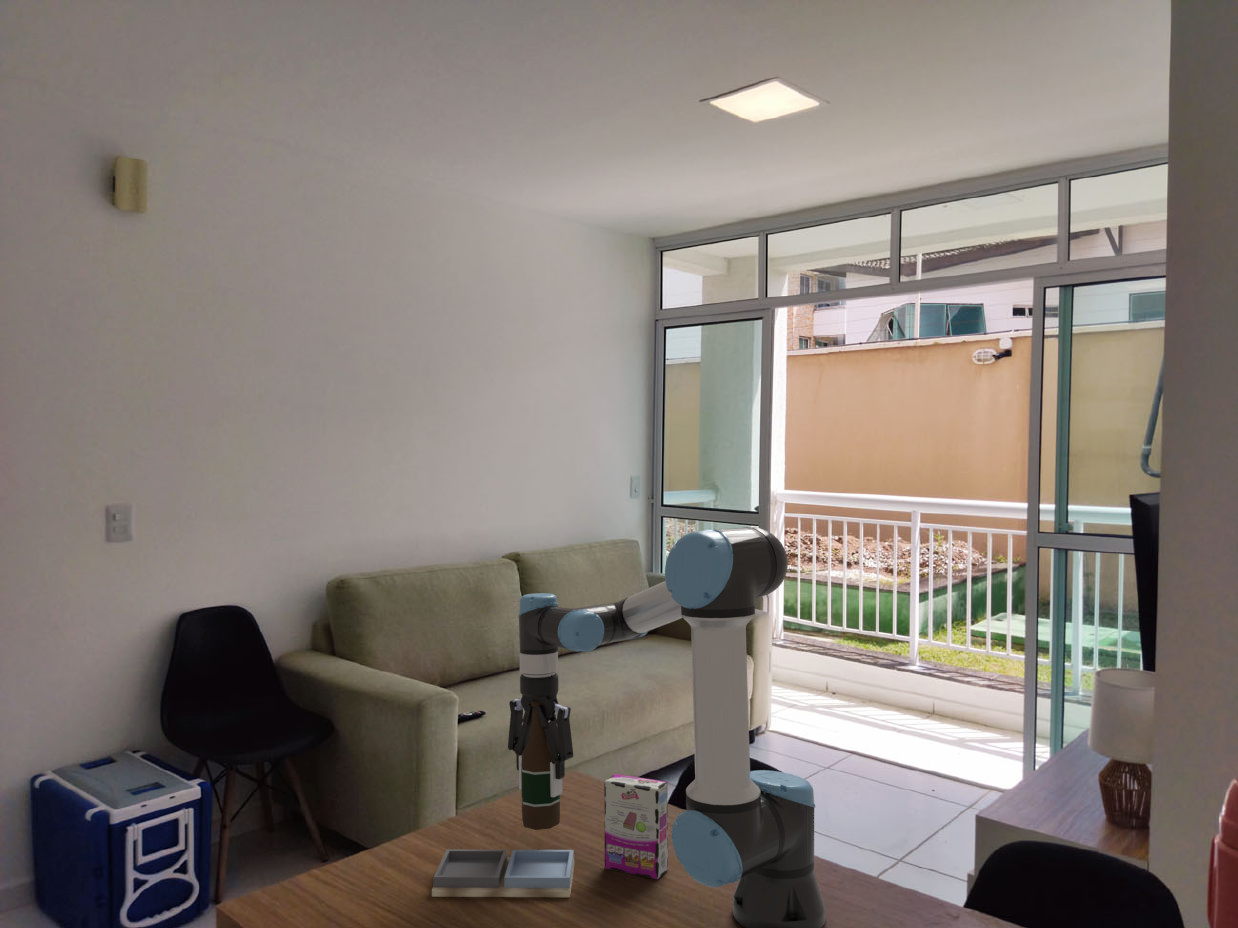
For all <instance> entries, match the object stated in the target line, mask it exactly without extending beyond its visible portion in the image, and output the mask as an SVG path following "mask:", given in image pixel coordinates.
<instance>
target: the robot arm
mask: <svg viewBox="0 0 1238 928" xmlns="http://www.w3.org/2000/svg"><path fill="white" fill-rule="evenodd" d="M669 550H670V551H669V552H668V555H667V558H666V561H665V565H664V581H662V582H659V583H657V584H655V585H652V586H651V587H648V588H645V589H644V590H642V591H639V592H637V593H634V594H632V595H630V596H628V597H625V598H624V599H621V600H619V601H616V602H615V601H614V602H611V603H605V604H598V605H590V606H583V607H582V606H581V607H573V608H570V607H561V606H559V603H558V597H557V595H555V594H553V593H550V592H549V593H548V592H547V593H544V592H543V593H540V592H539V593H537V592H536V593H527V594H524V595H522V596H521V597H520V599H519V606H518V607H519V609H518V611H519V612H518V628H519V629H518V632H519V633H518V634H519V636H518V637H519V673H521V674H520V676H519V693H520V694H521V698H520V697H519V698H516V699H513V700H509V703H508V705H509V709H510V719H509V728H508V729H509V731H508V740H507V741H508V742H507V749H508V750H509V751H513V752H514V754H515V756H516V759H515V760H516V770H517V771H518V789H519V790H520V791H521V760H522V754H523V751H524V748H525V746H526V745H527V743H528V742H529V739H530V733H531V719H532V707H531V701H532V700H536V701H539V702H540V703H541V704H540V705H539V706H537V707H536V712H537V715H538V716H539V719H540V722H541V726H542V728H544V730H545V733H546V736H547V740H548V743H549V747H550V750H551V753H552V757H553V760H554V761H551V762H550V789H551V797H556V796H558V795H560V796H561V795H563V778H565V775H566V773H565V769H566V768H565V766H566V765H565V762H566V761H568V760H570V759H573V758H574V750H573V749H574V748H573V740H572V731H571V722H570V721H571V720H570V718H571V717H570V716H571V707H570V706H569V705H567V706H563V705H561V704H559V701H558V698H557V697H558V696H557V695H558V693H559V675H558V673H557V672H558V671H559V649H565V650H568V651H573V652H577V653H578V652H583V653H587V652H592V651H594V650H595V649H596V648H597V647H598V646H600V645H605V644H608V643H609V644H610V643H614V642H615V643H616V642H623V641H633V640H636V639H638V638H642V637H644V636H646V635H647V634H648V633H649V632H650V631H652V630H654V629H657V628H660V627H662V626H665V625H667V624H671V623H673V622H675V621H679V620H680V619H682V618H683V619H684V621H686V622H687V623H688V625H689V626H690V629H691V630H690V632H691V633H690V636H691V637H690V638H691V667H692V668H691V669H692V670H691V671H692V673H691V674H692V675H691V676H692V703H693V704H692V705H693V706H692V708H693V742H694V746H693V747H694V775H695V777H694V779H693V781H692V782H690V784H688V786H687V787H686V788H685V798H686V799H685V800H686V802H685V804H686V807H685V808H686V810H684V811H682V812H680V814H679V815H678V816H677V818H676V819H674V820H673V824H672V827H671V841H672V846H673V850H674V854H675V855H676V857H677V860H678V861H679V863H680V865H682V867H683V868H684V870H685V872H686V873H687V874H688V875H689V876H690V877H691V878H692V879H693V880H694V881H695V882H696V883H699V884H700V885H703V887H707V888H719V887H723V886H725V885H728V884H735V883H736V887H735V890H734V893H733V895H732V916H733V917H734V919H735V920H736V921H737V923H738V924H739V925H740V926H742V927H743V928H823V926H824V925H825V923H826V905H825V901H824V898H823V895H822V892H821V889H820V886H819V882H818V880H817V875H816V873H815V808H816V804H815V797H814V796H815V795H814V794H815V793H814V789H813V785H812V784H811V783H810V782H809V781H808V780H806V779H805V778H803V777H800V776H799V775H795V774H792V773H787V772H782V771H777V770H776V771H775V770H766V769H765V770H764V769H762V770H761V769H760V770H751V759H750V758H751V757H750V755H751V754H750V729H749V726H750V725H749V723H750V721H749V719H750V718H749V691H748V690H749V689H748V687H749V685H748V661H747V659H748V658H747V654H748V653H747V630H746V629H747V625H748V624H749V623H750V621H752V620H753V618H754V617H755V616H756V599H757V598H761V597H765V596H767V595H770V594H772V593H773V592H775V591H776V590H777V589H779V588H780V587H781V585H783V584H782V583H783V582H784V580H785V578H786V576H787V572H788V565H789V561H788V555H787V551H786V549H785V548H784V546H783V543H782V542H781V541H780V540H779V538H778V537H777V536H775V535H774V534H773V533H771V532H770V531H768V530H766V529H763V528H759V527H756V526H750V527H749V526H747V527H745V526H744V527H732V528H714V529H713V528H708V529H702V530H698V531H693V532H689V533H686V534H685V535H682V536H681V537H680V538H679V539H677V541H676V543H675V544H674V545H673V546H671V549H669ZM547 721H548V722H547Z"/></svg>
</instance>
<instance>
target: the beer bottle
mask: <svg viewBox="0 0 1238 928" xmlns="http://www.w3.org/2000/svg"><path fill="white" fill-rule="evenodd" d="M540 704H541V703H540V702H539V701H536V700H532V701H531V707H532V719H531V733H530V739H529V742H528V743H527V745H526V746H525V748H524V751H523V754H522V760H521V790H520V791H521V792H520V793H521V820H522V824H523V827H524V828H527V829H530V830H535V831H539V830H542V831H543V830H550V829H552V828H554V827H557V826H559V824H560V820H561V794H560V795H558V796H556V797H551V789H550V762H551V761H554V760H553V757H552V753H551V750H550V747H549V743H548V740H547V736H546V733H545V730H544V728H542V726H541V722H540V719H539V716H538V715H537V712H536V707H537V706H539V705H540ZM547 722H549V721H547Z"/></svg>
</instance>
